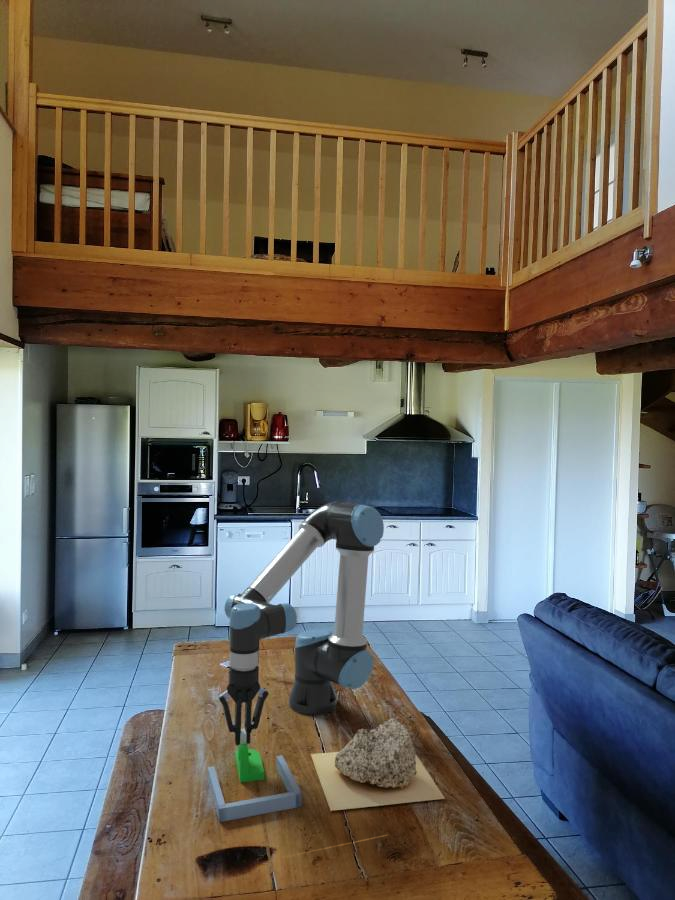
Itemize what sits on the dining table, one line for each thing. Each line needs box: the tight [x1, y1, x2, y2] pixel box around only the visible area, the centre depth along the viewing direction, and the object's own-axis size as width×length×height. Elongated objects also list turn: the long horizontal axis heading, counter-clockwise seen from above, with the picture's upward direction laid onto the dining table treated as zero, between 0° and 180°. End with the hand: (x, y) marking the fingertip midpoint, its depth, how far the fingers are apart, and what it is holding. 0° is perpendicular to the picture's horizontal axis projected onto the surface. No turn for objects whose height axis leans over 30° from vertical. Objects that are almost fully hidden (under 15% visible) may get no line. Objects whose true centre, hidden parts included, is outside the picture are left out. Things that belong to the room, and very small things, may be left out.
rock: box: [310, 718, 446, 812], centre depth 157 cm, size 28×22×16 cm
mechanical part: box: [234, 744, 266, 783], centre depth 161 cm, size 12×6×8 cm, turn 15°
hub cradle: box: [207, 755, 303, 823], centre depth 151 cm, size 19×18×3 cm
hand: (242, 756), depth 162 cm, fingers closed
